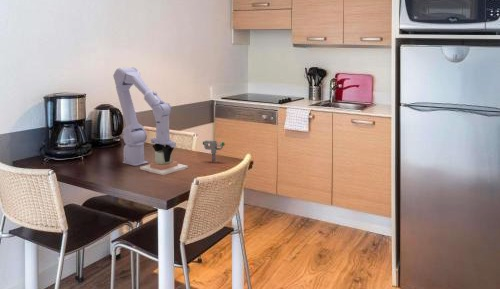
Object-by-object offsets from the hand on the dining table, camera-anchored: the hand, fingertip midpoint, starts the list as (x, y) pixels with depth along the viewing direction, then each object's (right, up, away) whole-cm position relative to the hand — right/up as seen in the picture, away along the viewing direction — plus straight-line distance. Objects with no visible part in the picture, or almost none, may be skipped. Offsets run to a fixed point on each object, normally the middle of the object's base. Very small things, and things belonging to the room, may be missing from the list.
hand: (163, 160), depth 202 cm
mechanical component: (+21, -1, +13) cm, 25 cm away
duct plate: (0, -4, +1) cm, 4 cm away
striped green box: (0, -3, 0) cm, 3 cm away
